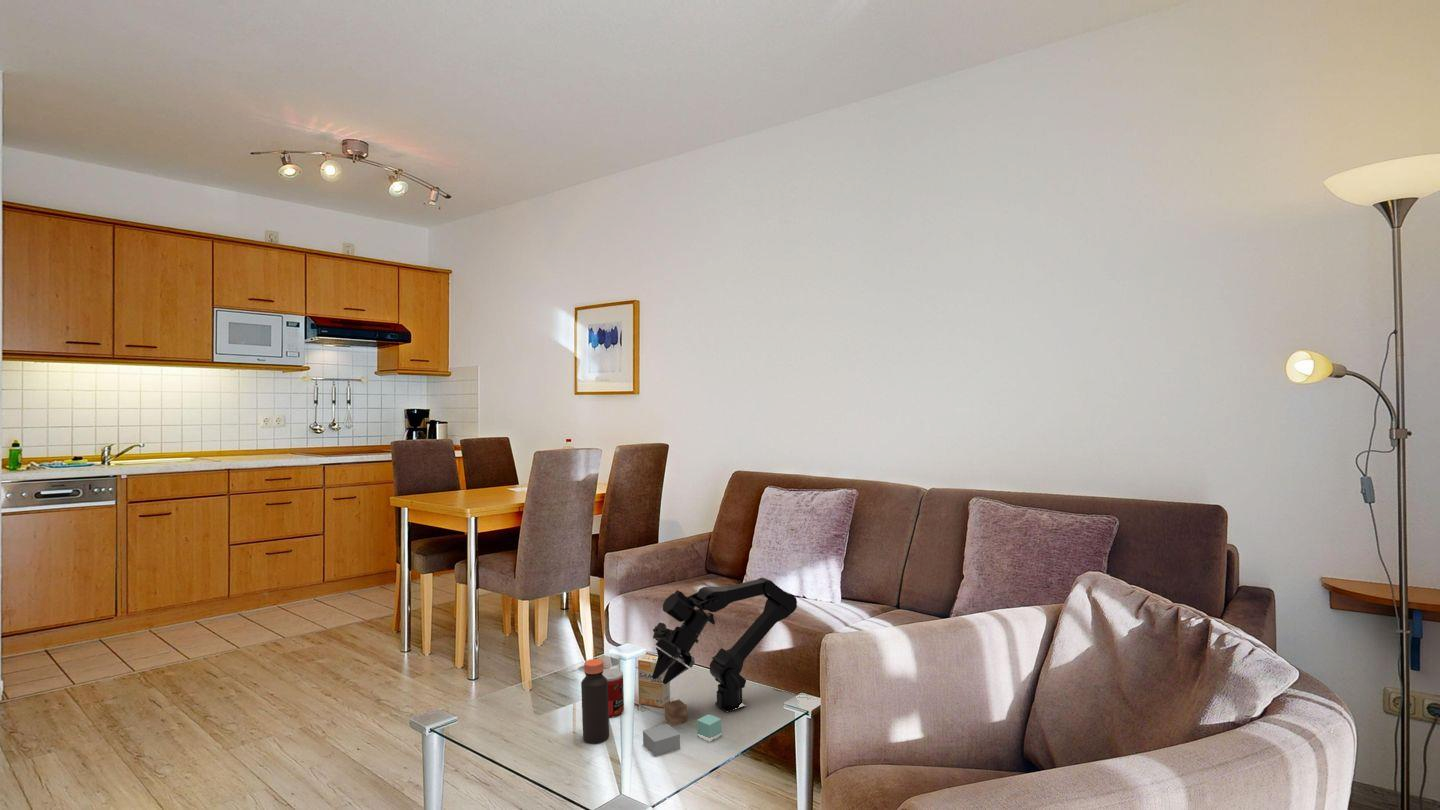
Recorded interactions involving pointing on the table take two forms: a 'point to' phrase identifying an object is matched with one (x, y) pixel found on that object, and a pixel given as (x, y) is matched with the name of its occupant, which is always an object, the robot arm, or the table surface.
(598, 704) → the bottle
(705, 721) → the teal cube
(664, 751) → the slate block
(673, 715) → the walnut cube
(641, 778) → the table surface
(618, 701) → the canned food
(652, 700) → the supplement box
